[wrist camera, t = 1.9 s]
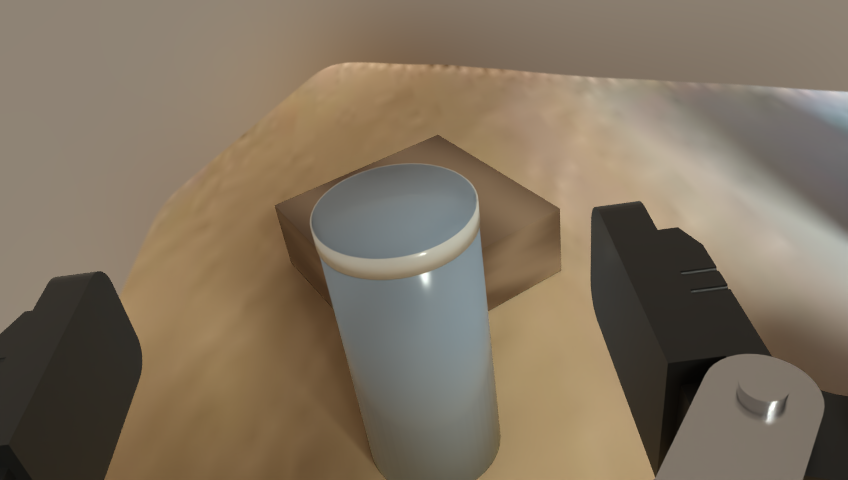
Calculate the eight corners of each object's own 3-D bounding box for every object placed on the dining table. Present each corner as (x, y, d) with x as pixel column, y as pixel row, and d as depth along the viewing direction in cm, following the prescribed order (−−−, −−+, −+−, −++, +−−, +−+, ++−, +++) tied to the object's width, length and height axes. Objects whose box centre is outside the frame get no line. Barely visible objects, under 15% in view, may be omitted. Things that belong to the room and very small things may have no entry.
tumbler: (451, 368, 35) (418, 146, 28) (529, 445, 31) (513, 208, 24) (346, 429, 33) (282, 206, 26) (415, 520, 29) (361, 284, 22)
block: (445, 189, 48) (437, 134, 45) (561, 270, 40) (559, 208, 38) (291, 262, 44) (274, 205, 41) (387, 367, 36) (373, 305, 33)
